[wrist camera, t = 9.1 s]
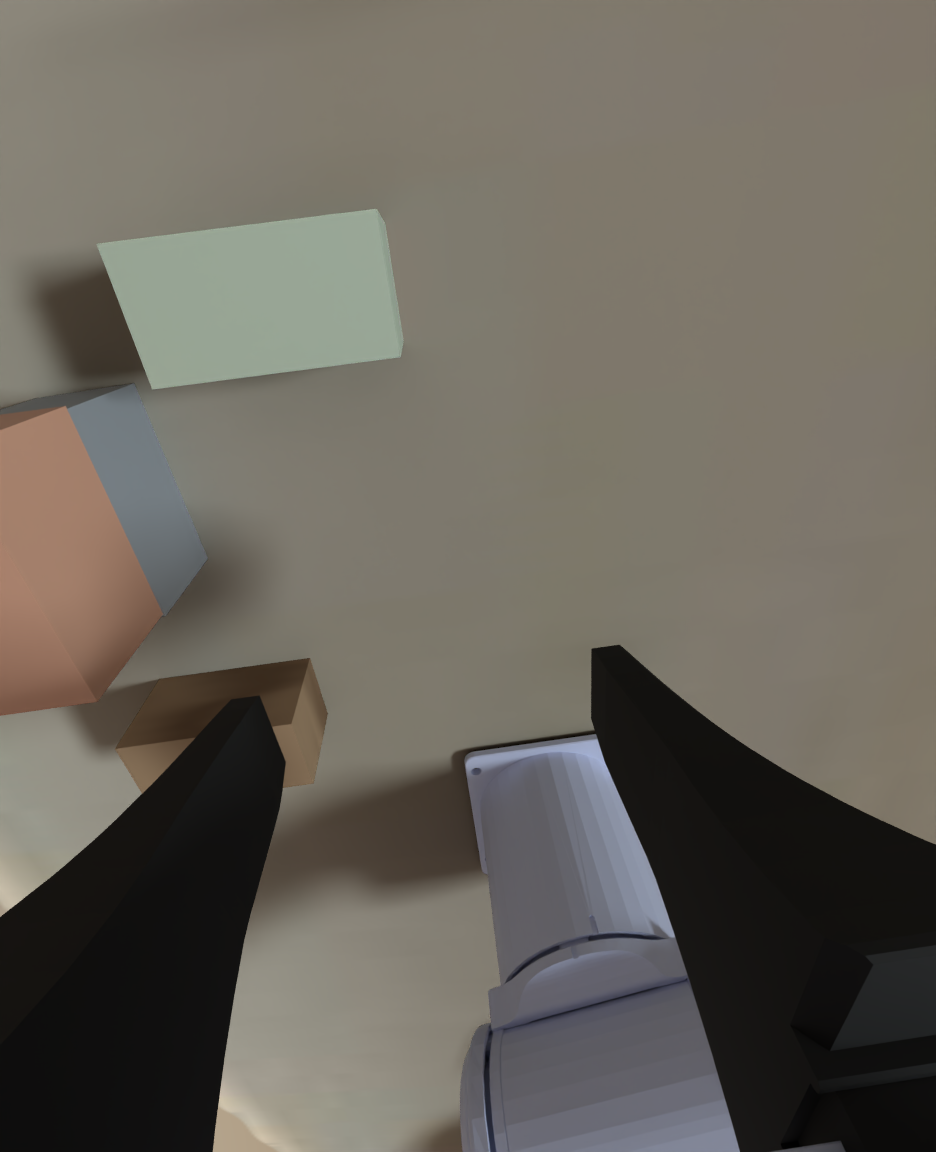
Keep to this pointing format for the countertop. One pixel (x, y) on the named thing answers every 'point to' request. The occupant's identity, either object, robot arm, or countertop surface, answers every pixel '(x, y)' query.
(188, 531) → the slate brick
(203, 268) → the sage brick
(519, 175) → the countertop surface
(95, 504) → the terracotta brick
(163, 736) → the walnut brick
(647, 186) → the countertop surface
